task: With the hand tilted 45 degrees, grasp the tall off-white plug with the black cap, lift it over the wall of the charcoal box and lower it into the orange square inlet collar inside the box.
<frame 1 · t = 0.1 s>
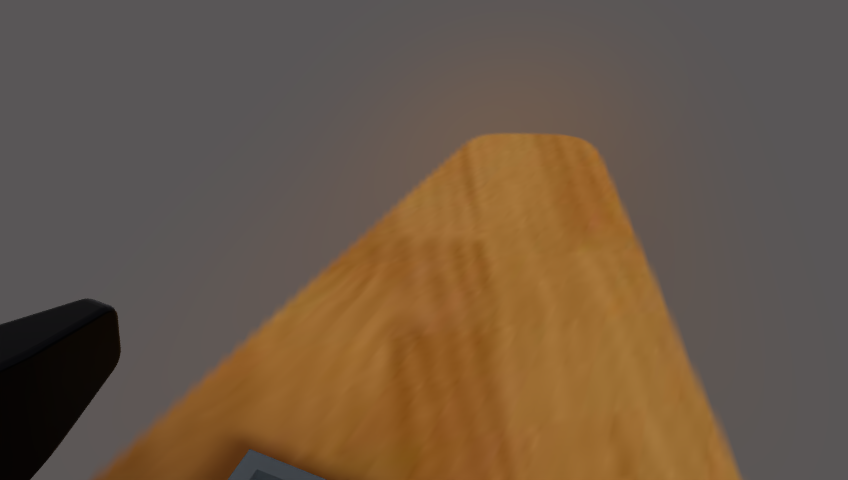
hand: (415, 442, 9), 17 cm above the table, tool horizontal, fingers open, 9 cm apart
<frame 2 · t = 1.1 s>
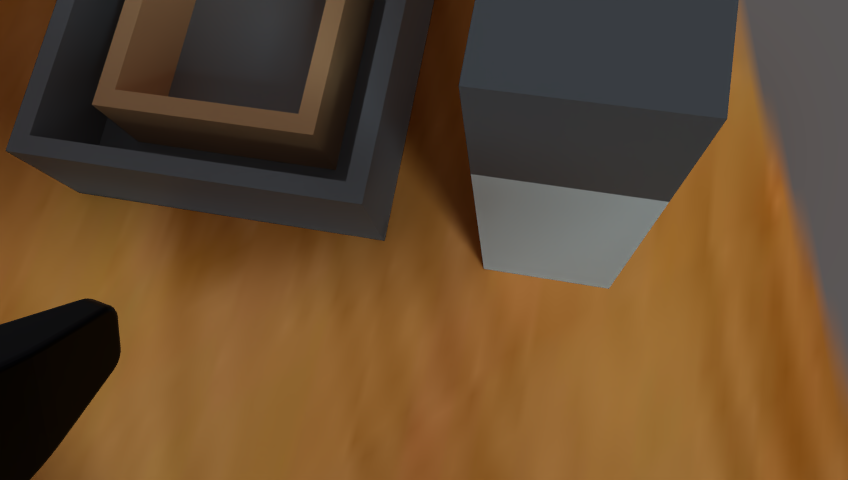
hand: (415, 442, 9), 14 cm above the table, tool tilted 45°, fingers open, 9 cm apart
plug: (554, 219, 24), on the table
walled box: (265, 69, 27), on the table
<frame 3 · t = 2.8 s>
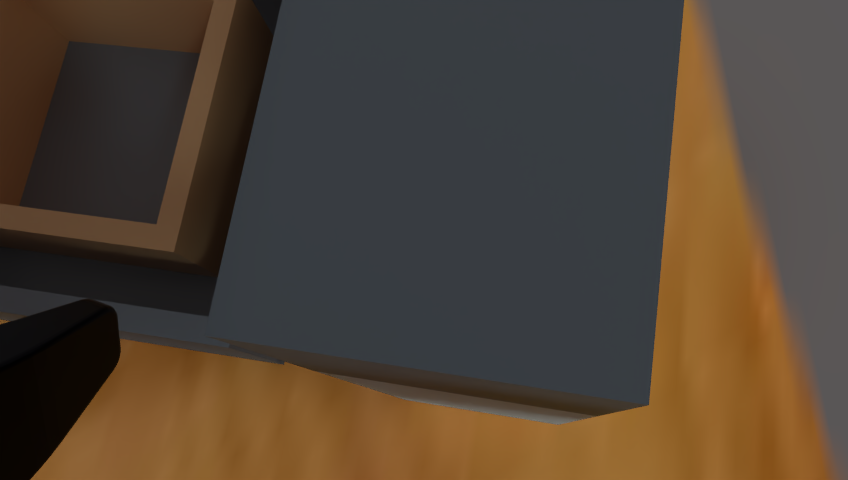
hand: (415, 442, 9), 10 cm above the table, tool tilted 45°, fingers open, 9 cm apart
plug: (490, 335, 19), on the table
walled box: (144, 149, 22), on the table
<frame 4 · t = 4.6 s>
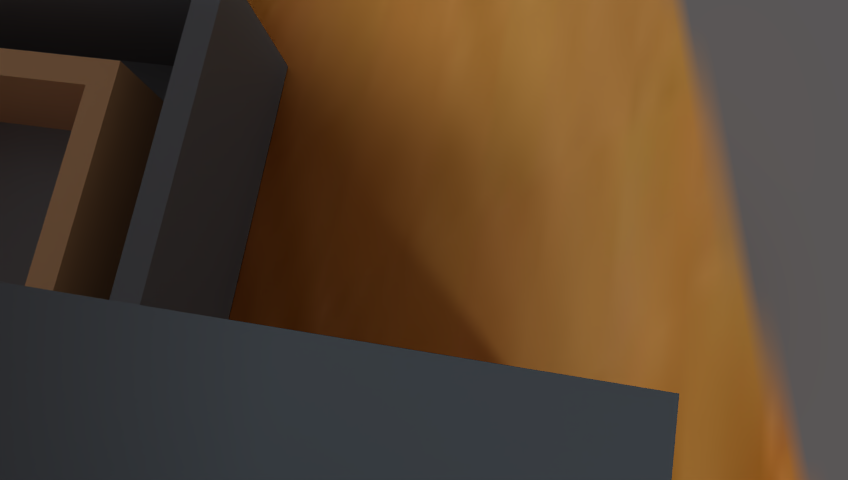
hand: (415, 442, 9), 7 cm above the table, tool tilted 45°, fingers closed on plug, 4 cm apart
walled box: (23, 249, 18), on the table
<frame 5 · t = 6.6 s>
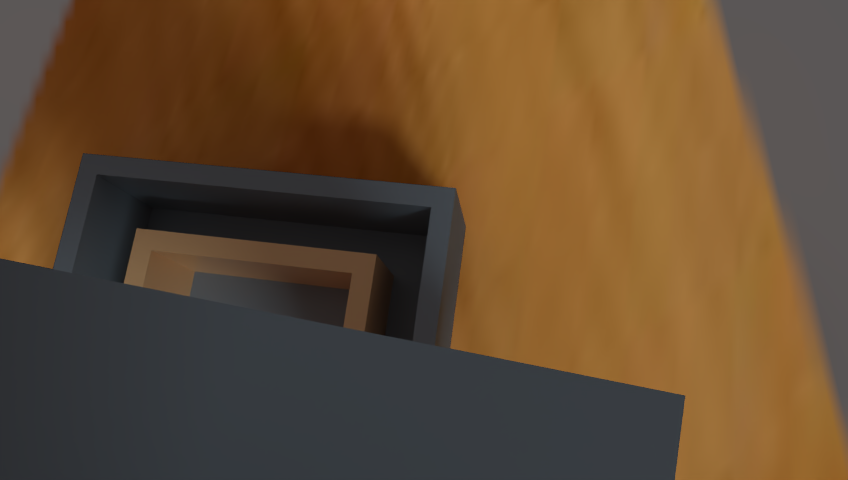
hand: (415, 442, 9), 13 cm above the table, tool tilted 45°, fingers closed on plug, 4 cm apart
walled box: (270, 376, 24), on the table
when the fingers open (9 cm above the table, at t = 8.6 s): plug drops 1 cm, resting on walled box.
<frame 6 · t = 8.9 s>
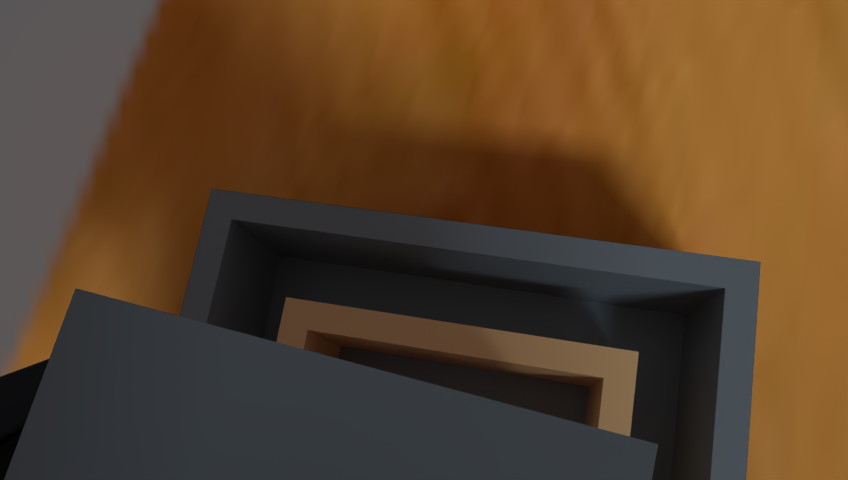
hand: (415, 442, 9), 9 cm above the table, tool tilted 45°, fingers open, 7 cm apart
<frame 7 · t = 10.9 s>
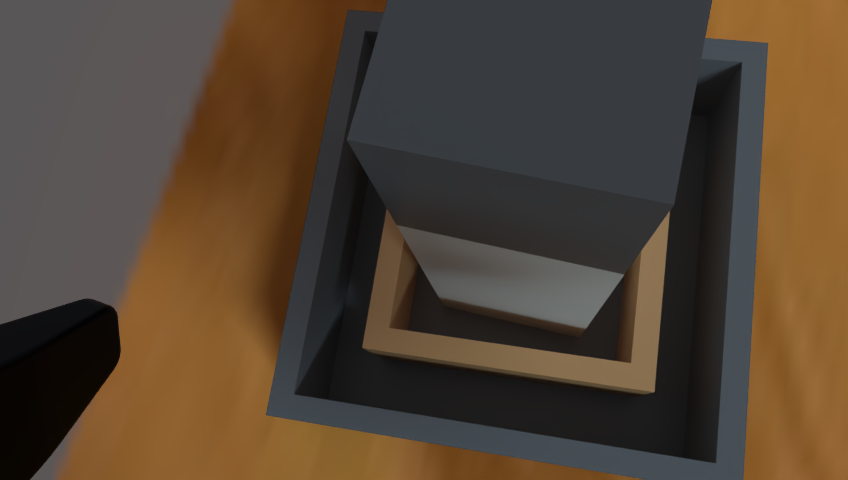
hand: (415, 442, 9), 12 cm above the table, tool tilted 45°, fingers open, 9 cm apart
plug: (525, 256, 22), point 1 cm above the table, touching walled box
walled box: (521, 259, 22), on the table
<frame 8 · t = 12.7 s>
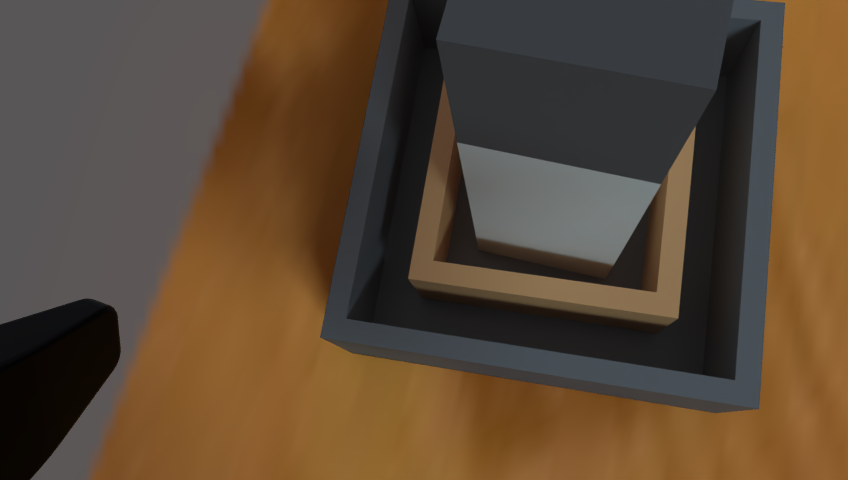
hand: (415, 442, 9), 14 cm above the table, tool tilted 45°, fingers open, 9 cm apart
plug: (555, 204, 23), point 1 cm above the table, touching walled box
walled box: (550, 209, 24), on the table
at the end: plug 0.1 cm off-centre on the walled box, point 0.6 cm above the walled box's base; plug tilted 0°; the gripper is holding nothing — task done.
